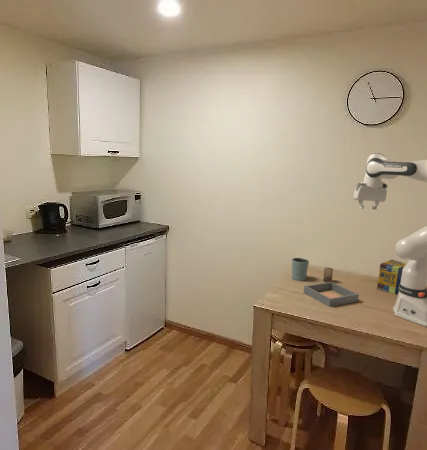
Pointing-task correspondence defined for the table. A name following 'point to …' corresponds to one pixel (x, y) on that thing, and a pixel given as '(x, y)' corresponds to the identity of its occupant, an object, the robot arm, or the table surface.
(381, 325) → the table surface
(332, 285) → the shallow gray dish
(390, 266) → the protein box
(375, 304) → the table surface
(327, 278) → the walnut post
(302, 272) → the teal cup
